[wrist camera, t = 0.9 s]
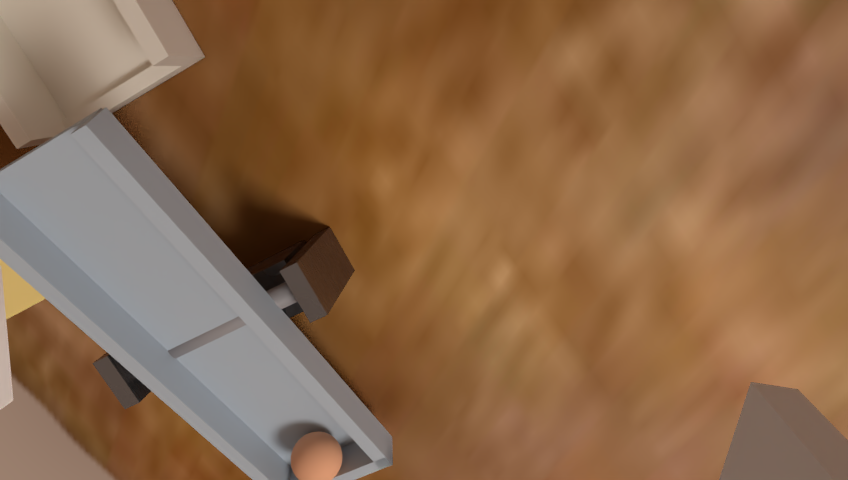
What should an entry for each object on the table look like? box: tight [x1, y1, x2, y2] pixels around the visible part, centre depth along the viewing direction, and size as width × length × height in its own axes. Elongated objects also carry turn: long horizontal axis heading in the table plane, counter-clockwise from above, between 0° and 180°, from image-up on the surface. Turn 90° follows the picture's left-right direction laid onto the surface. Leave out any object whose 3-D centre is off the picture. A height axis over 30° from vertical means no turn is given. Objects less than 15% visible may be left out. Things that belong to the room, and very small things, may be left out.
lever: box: [0, 107, 393, 480], centre depth 32 cm, size 24×16×3 cm, turn 28°
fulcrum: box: [93, 227, 355, 409], centre depth 33 cm, size 3×13×7 cm, turn 118°
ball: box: [291, 431, 342, 480], centre depth 35 cm, size 3×3×3 cm
